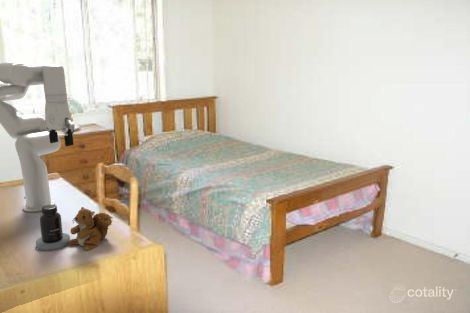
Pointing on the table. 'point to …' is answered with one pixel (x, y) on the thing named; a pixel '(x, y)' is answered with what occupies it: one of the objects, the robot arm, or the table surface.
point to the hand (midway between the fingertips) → (61, 144)
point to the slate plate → (53, 244)
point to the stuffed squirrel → (90, 228)
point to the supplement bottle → (50, 224)
